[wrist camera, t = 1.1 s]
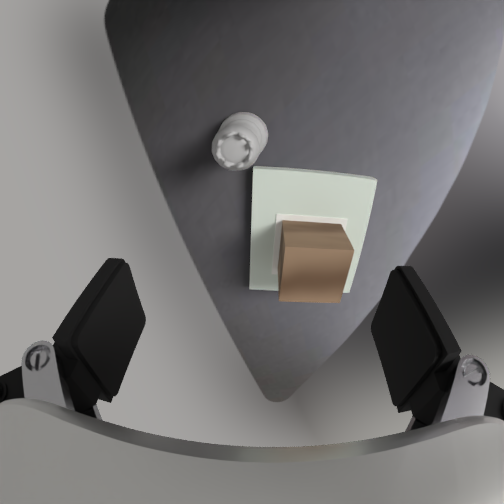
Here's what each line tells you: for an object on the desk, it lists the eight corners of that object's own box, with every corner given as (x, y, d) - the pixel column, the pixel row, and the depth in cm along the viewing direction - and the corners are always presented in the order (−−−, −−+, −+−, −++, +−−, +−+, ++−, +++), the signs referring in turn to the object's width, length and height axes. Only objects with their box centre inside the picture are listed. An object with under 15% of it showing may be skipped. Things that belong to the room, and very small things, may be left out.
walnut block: (282, 220, 26) (285, 246, 22) (341, 224, 26) (354, 250, 22) (277, 270, 30) (278, 301, 25) (330, 272, 29) (339, 302, 25)
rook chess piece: (223, 160, 25) (205, 187, 18) (216, 115, 22) (194, 122, 15) (270, 155, 24) (272, 180, 17) (265, 109, 22) (265, 113, 15)
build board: (253, 166, 25) (253, 169, 24) (373, 177, 24) (377, 180, 24) (249, 283, 32) (249, 289, 31) (347, 287, 32) (349, 293, 31)
